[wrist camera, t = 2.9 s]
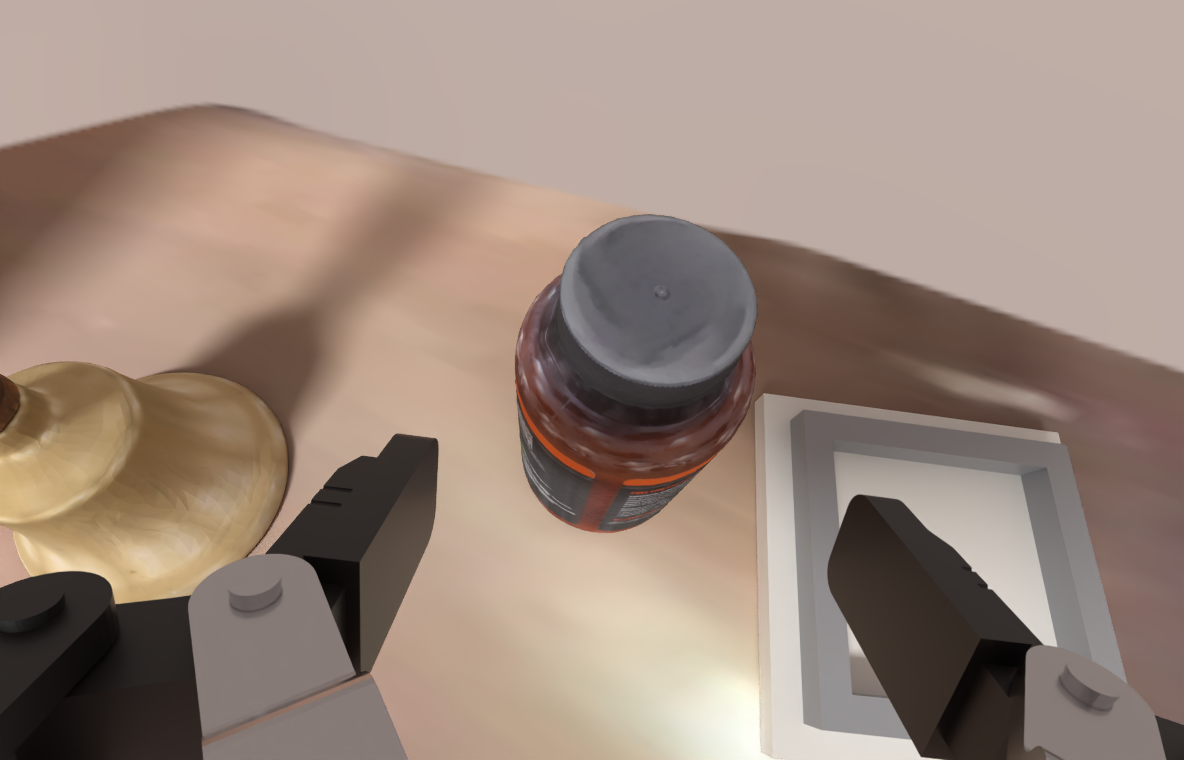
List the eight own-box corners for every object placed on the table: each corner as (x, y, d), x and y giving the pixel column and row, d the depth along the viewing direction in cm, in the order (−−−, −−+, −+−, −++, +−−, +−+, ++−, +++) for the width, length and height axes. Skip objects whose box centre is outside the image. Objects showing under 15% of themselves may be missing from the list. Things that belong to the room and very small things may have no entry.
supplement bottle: (707, 445, 22) (864, 282, 11) (616, 571, 20) (709, 511, 9) (587, 355, 23) (631, 132, 13) (487, 465, 21) (442, 305, 10)
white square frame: (760, 751, 18) (789, 767, 16) (754, 402, 23) (776, 380, 21) (1119, 789, 18) (1190, 809, 16) (1037, 440, 23) (1085, 422, 21)
